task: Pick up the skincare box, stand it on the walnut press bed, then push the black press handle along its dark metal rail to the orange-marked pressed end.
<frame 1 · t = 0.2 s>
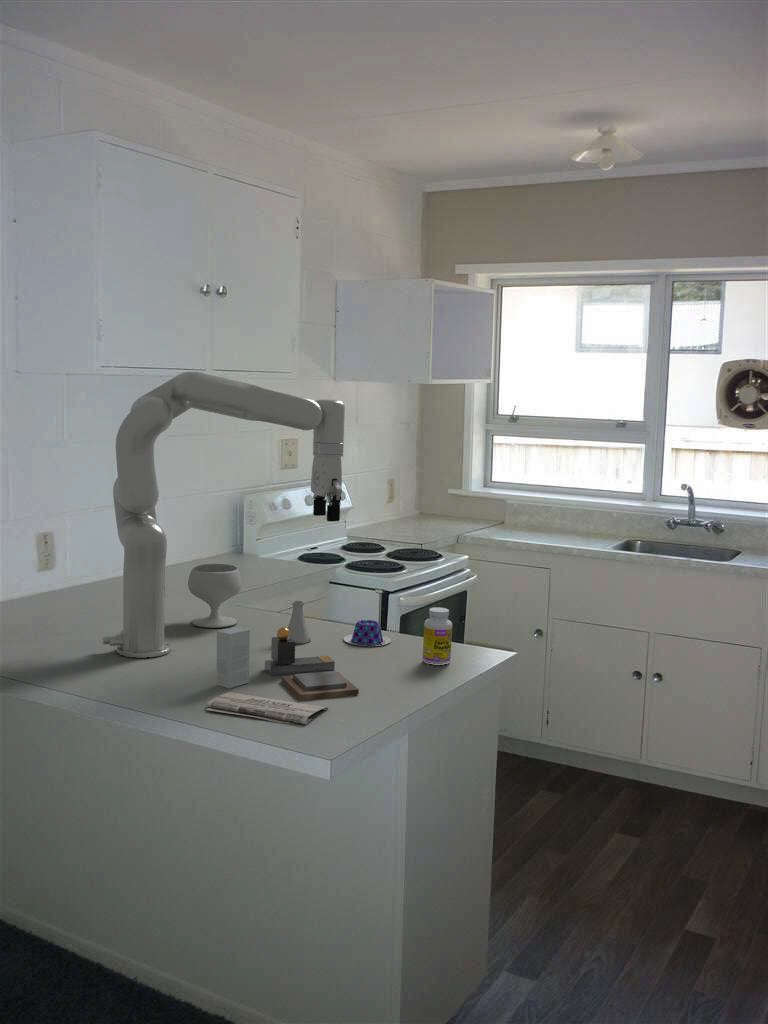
hand: (326, 518, 252), 31 cm above the countertop, tool pointing down, fingers open, 9 cm apart
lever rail: (299, 669, 229), on the countertop
chalice: (214, 624, 268), on the countertop
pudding: (367, 643, 256), on the countertop
skincare box: (232, 684, 217), on the countertop
press handle: (283, 644, 227), point 6 cm above the countertop, slide at 0.0 cm
newspaper: (267, 714, 201), on the countertop
press bed: (319, 688, 216), on the countertop
supplement bottle: (436, 663, 239), on the countertop
flask: (297, 641, 254), on the countertop
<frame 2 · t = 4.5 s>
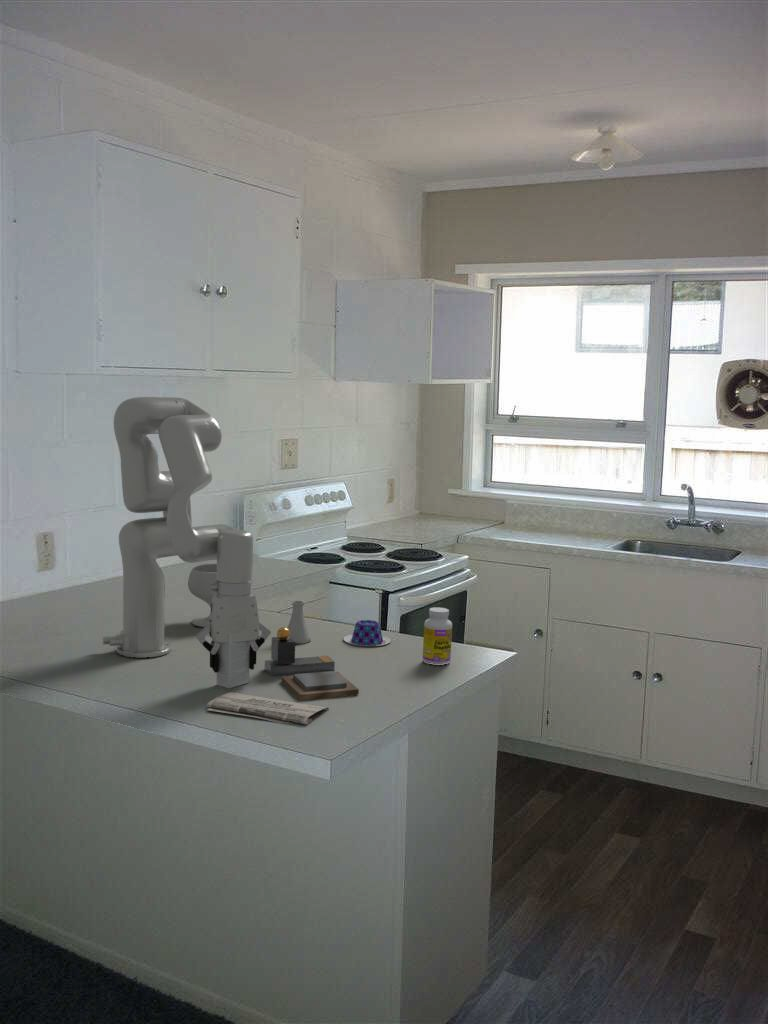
hand: (233, 668, 217), 3 cm above the countertop, tool pointing down, fingers closed on skincare box, 7 cm apart
skincare box: (232, 684, 217), on the countertop, touching gripper
everything else where it was.
when the fingers open (7 cm above the countertop, at t = 10.7 s): skincare box drops 1 cm, resting on press bed.
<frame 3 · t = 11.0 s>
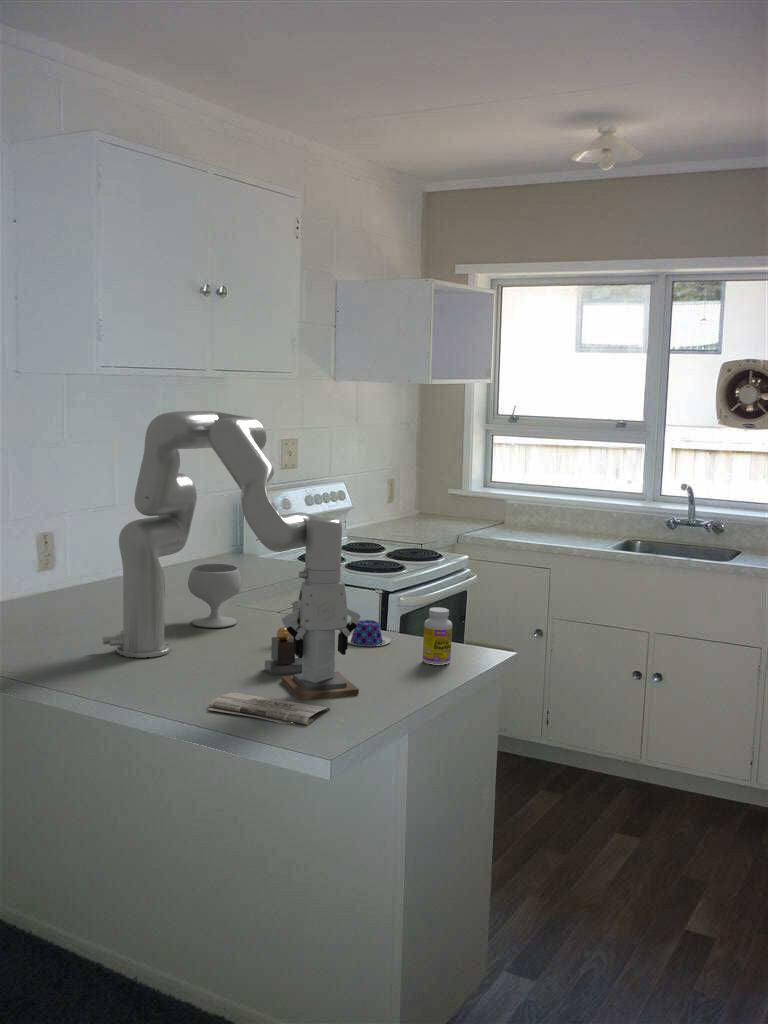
hand: (320, 654, 215), 7 cm above the countertop, tool pointing down, fingers open, 9 cm apart
skincare box: (317, 679, 216), point 2 cm above the countertop, touching press bed
everything else where it was.
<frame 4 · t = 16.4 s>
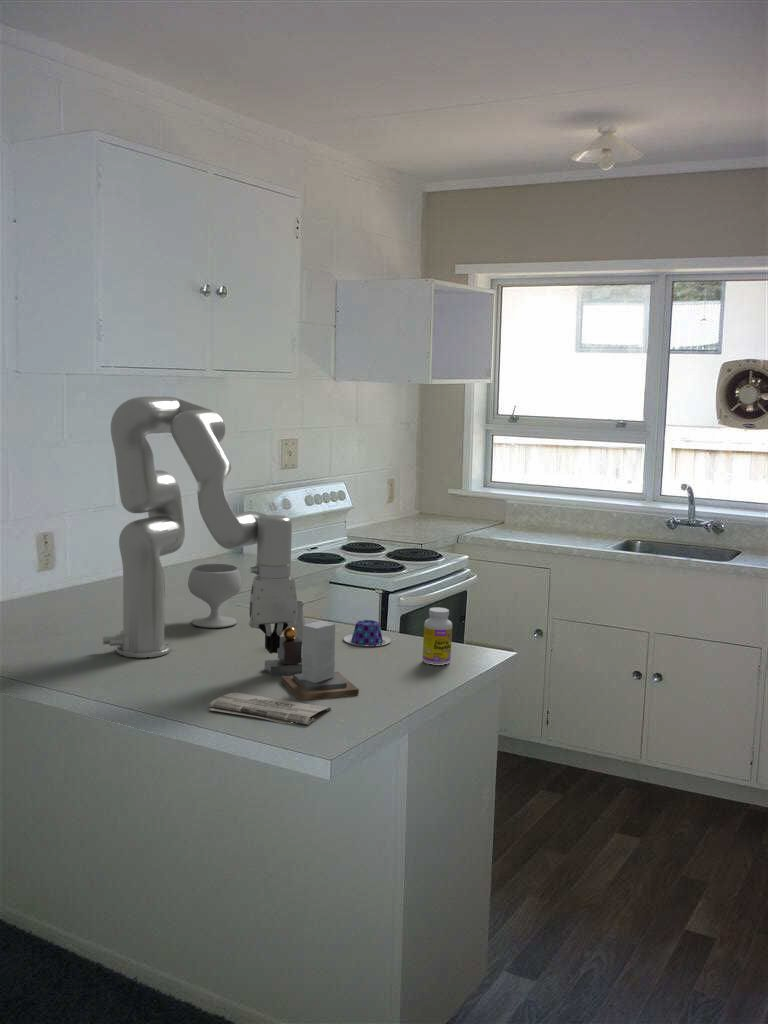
hand: (272, 651, 226), 5 cm above the countertop, tool pointing down, fingers closed
press handle: (289, 643, 227), point 6 cm above the countertop, slide at 1.6 cm, touching gripper
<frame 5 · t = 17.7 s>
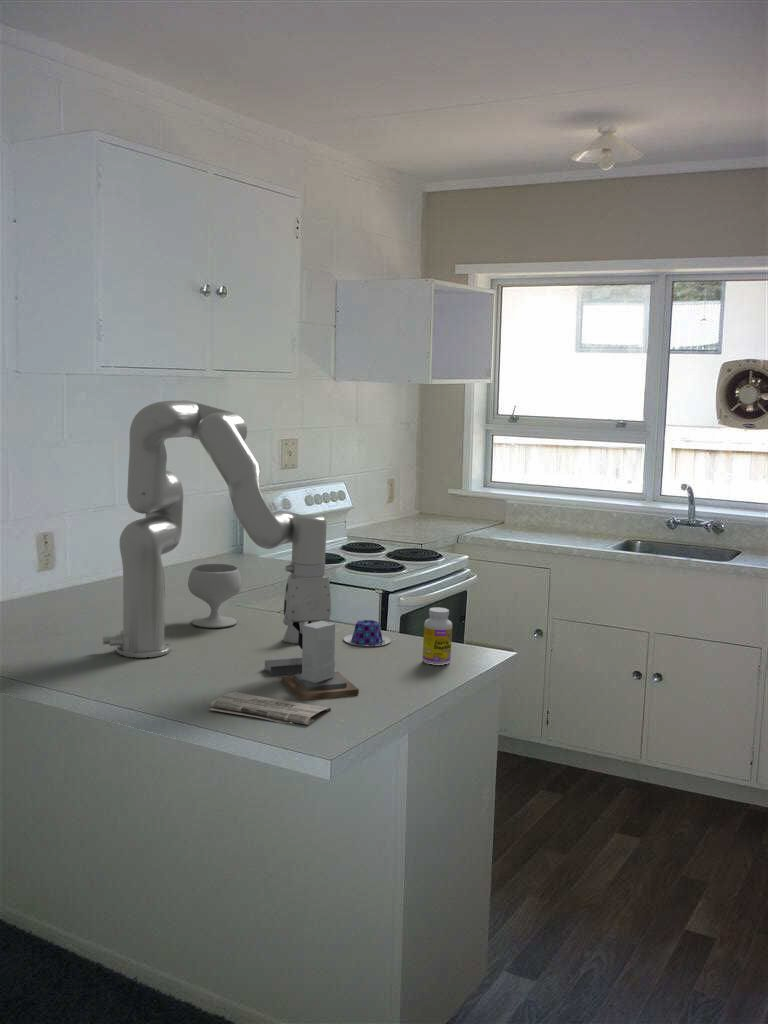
hand: (305, 649, 229), 5 cm above the countertop, tool pointing down, fingers closed
press handle: (322, 641, 230), point 6 cm above the countertop, slide at 9.3 cm, touching gripper
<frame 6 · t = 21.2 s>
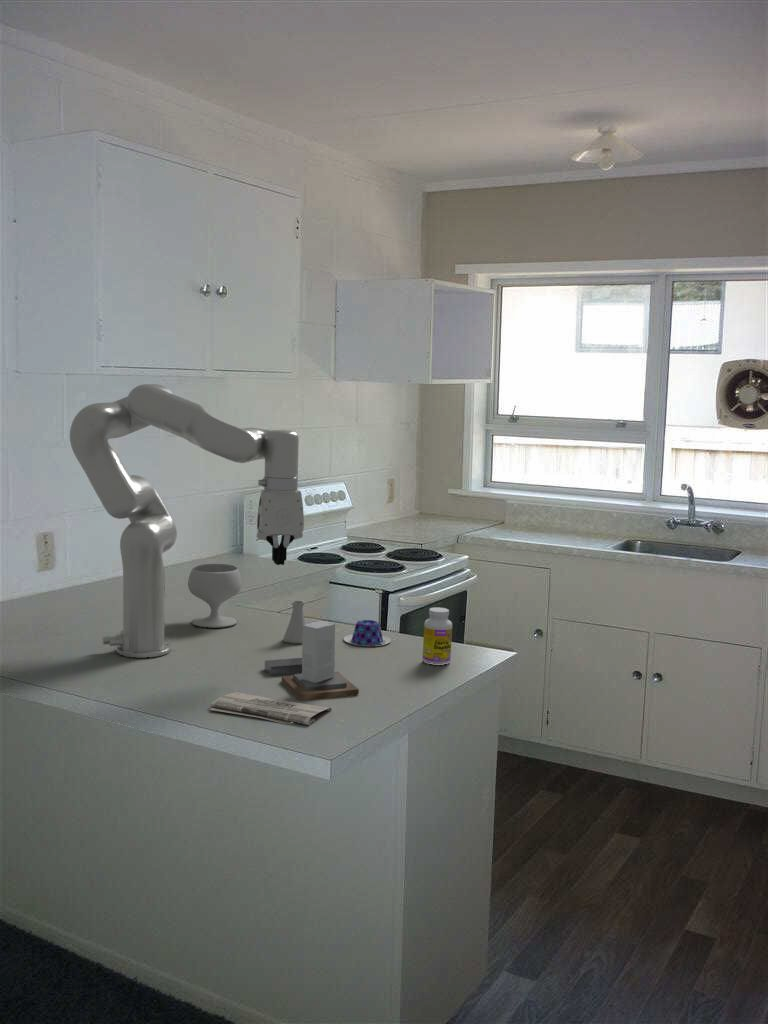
hand: (279, 563, 232), 23 cm above the countertop, tool pointing down, fingers closed
press handle: (321, 641, 230), point 6 cm above the countertop, slide at 9.0 cm
at the end: skincare box inside the target area on the press bed (0.4 cm from its centre), point 1.9 cm above the press bed's base; skincare box tilted 0°; press handle slide at 9.0 cm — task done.
